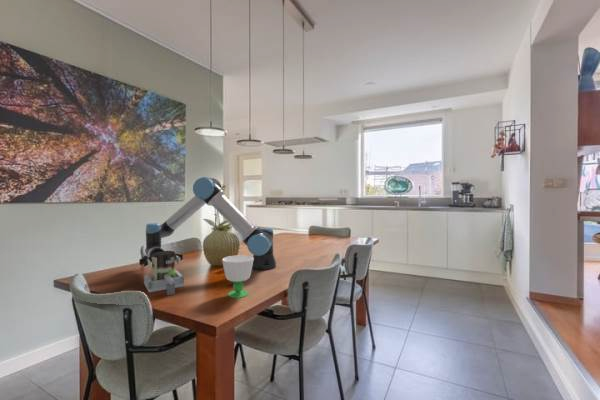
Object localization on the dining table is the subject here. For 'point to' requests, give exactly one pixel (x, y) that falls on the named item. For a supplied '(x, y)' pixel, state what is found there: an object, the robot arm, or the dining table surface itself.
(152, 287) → the tray
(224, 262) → the cup
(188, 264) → the dining table surface
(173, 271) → the coffee can
